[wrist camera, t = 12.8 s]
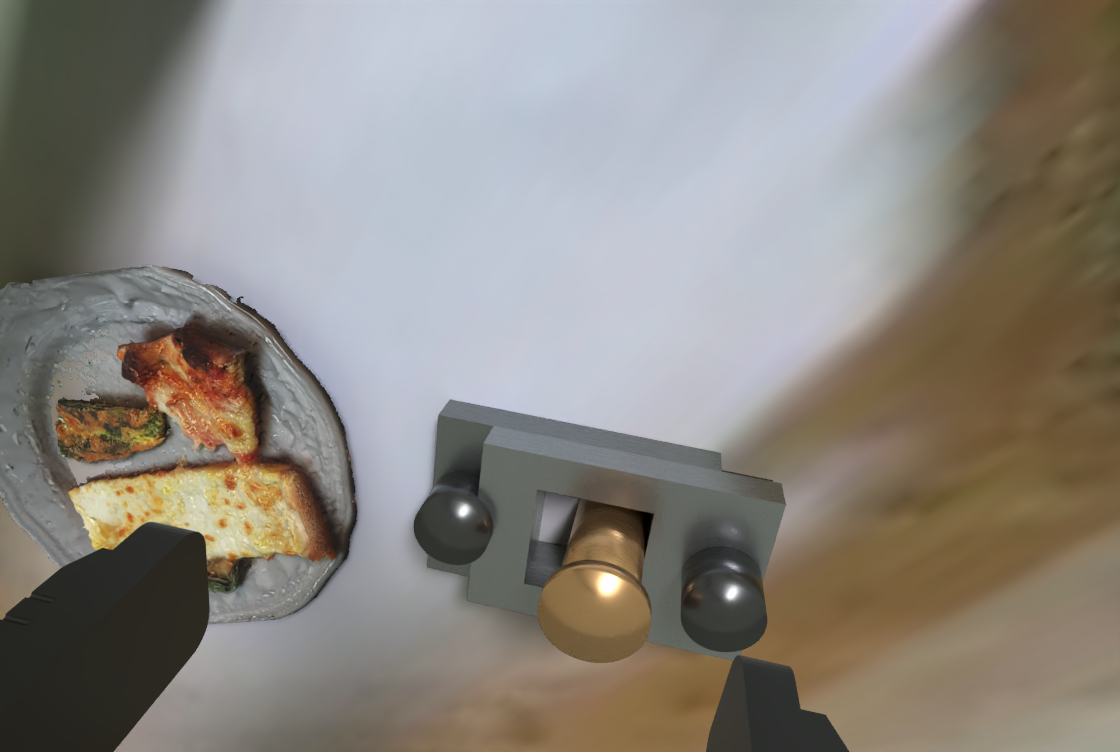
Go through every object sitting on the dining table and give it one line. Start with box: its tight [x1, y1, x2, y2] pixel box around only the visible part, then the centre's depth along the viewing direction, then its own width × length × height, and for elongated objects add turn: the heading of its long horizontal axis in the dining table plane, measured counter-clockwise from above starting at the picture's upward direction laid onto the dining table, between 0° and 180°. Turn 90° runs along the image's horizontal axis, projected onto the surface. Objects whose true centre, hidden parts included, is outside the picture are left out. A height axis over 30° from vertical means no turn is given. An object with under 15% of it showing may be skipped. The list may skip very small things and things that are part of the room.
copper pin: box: [537, 499, 652, 663], centre depth 38 cm, size 5×5×9 cm
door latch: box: [414, 400, 786, 661], centre depth 39 cm, size 18×10×7 cm, turn 82°
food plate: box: [0, 265, 357, 624], centre depth 44 cm, size 25×23×4 cm
